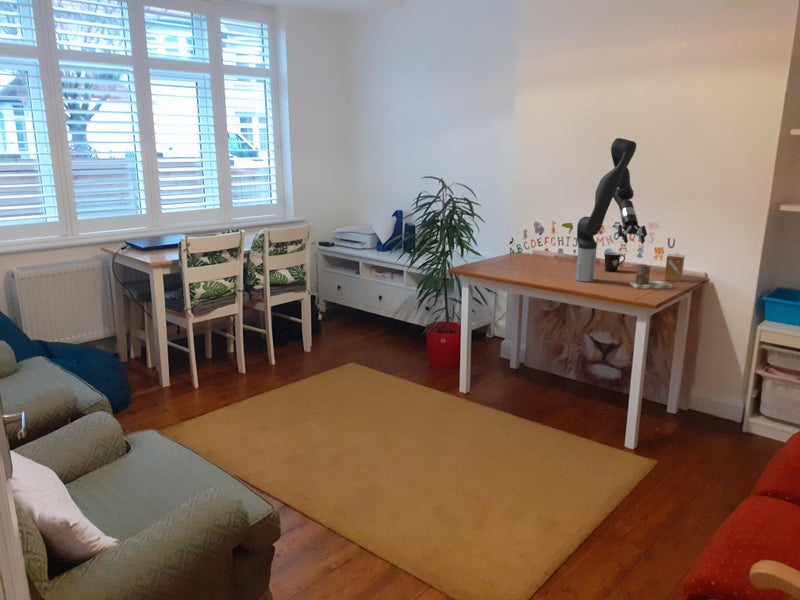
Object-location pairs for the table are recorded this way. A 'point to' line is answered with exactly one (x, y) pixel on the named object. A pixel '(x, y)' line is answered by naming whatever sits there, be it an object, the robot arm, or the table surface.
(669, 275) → the small box
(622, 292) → the table surface
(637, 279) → the block
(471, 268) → the table surface
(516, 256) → the table surface
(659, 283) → the board
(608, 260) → the coffee mug
